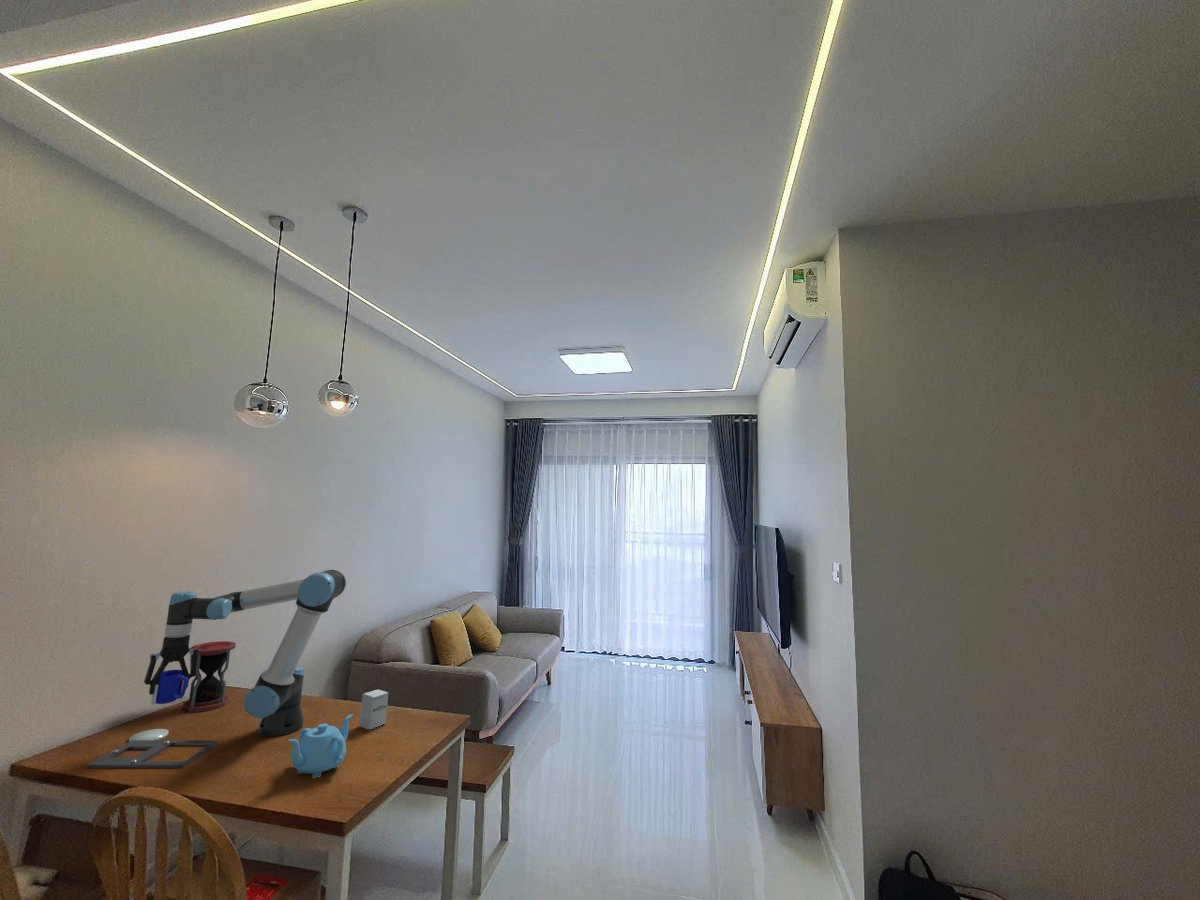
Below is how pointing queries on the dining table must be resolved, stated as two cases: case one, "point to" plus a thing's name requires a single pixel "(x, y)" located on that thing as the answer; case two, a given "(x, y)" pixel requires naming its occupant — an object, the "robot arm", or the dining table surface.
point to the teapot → (320, 748)
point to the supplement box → (373, 709)
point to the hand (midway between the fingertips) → (167, 700)
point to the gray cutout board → (149, 754)
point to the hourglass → (209, 677)
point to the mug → (170, 686)
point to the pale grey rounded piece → (150, 735)
